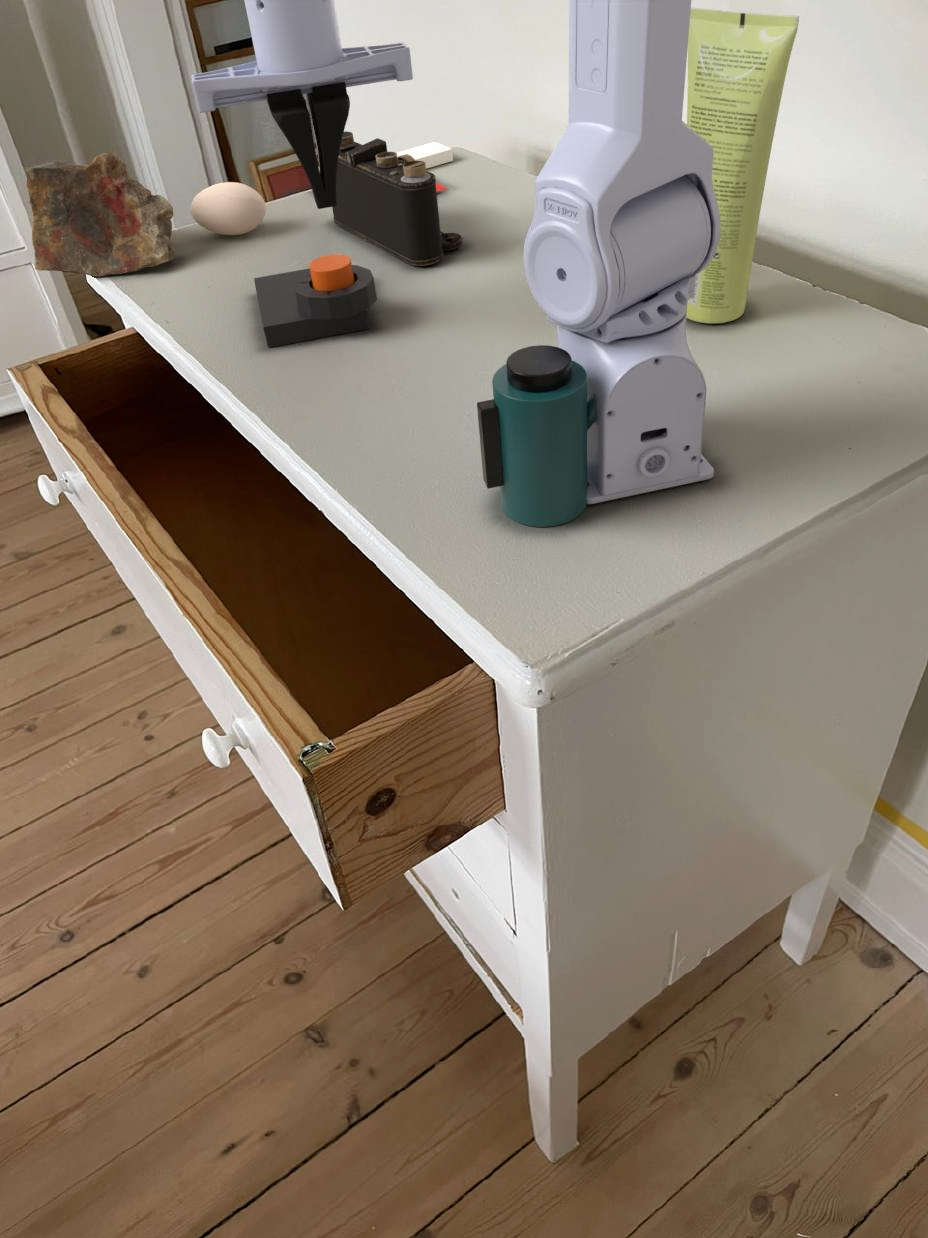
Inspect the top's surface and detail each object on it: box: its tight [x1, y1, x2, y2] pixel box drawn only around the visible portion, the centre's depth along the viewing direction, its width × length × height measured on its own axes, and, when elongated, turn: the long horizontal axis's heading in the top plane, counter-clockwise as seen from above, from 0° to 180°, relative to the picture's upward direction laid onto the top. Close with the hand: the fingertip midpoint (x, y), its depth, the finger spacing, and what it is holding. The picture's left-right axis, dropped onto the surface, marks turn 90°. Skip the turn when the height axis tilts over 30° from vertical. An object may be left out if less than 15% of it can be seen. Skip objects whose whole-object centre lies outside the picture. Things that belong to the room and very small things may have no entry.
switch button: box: [308, 254, 354, 291], centre depth 74 cm, size 3×3×2 cm
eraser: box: [396, 141, 454, 170], centre depth 105 cm, size 1×5×4 cm
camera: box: [331, 131, 464, 267], centre depth 87 cm, size 16×7×8 cm, turn 34°
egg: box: [190, 181, 267, 236], centre depth 93 cm, size 5×5×7 cm
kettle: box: [476, 344, 597, 528], centre depth 54 cm, size 5×8×9 cm, turn 103°
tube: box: [686, 6, 800, 324], centre depth 66 cm, size 6×5×20 cm
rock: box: [26, 151, 176, 277], centre depth 89 cm, size 12×12×10 cm
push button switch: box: [253, 264, 378, 348], centre depth 78 cm, size 11×9×4 cm
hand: (325, 203), depth 71 cm, fingers closed
